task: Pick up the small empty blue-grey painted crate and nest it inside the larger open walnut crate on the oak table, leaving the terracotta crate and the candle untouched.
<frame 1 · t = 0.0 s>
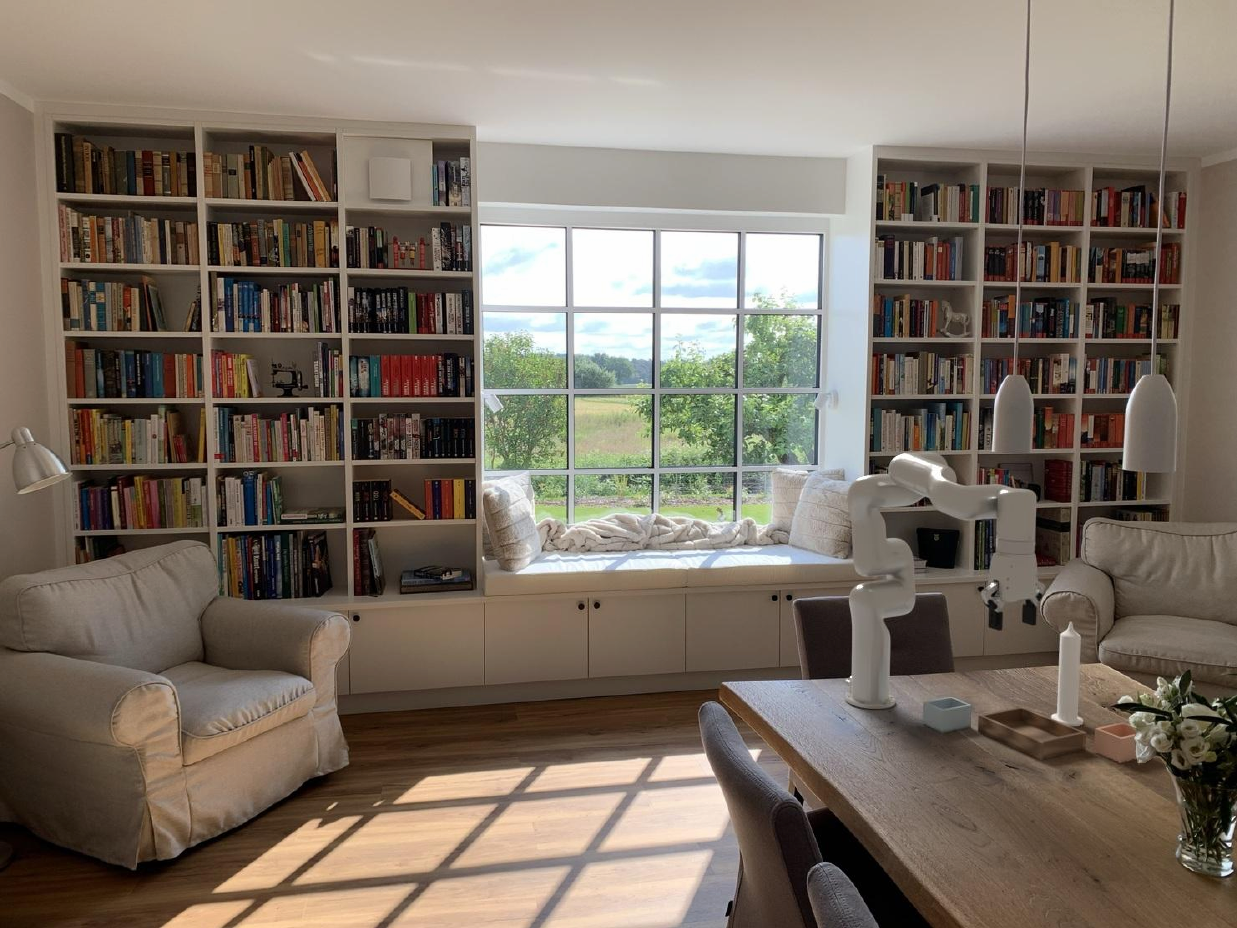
hand: (1012, 626, 190), 31 cm above the table, tool pointing down, fingers open, 9 cm apart
bluegrey crate: (946, 725, 217), on the table
terracotta crate: (1120, 754, 200), on the table
candle: (1066, 722, 220), on the table
walnut crate: (1030, 740, 208), on the table
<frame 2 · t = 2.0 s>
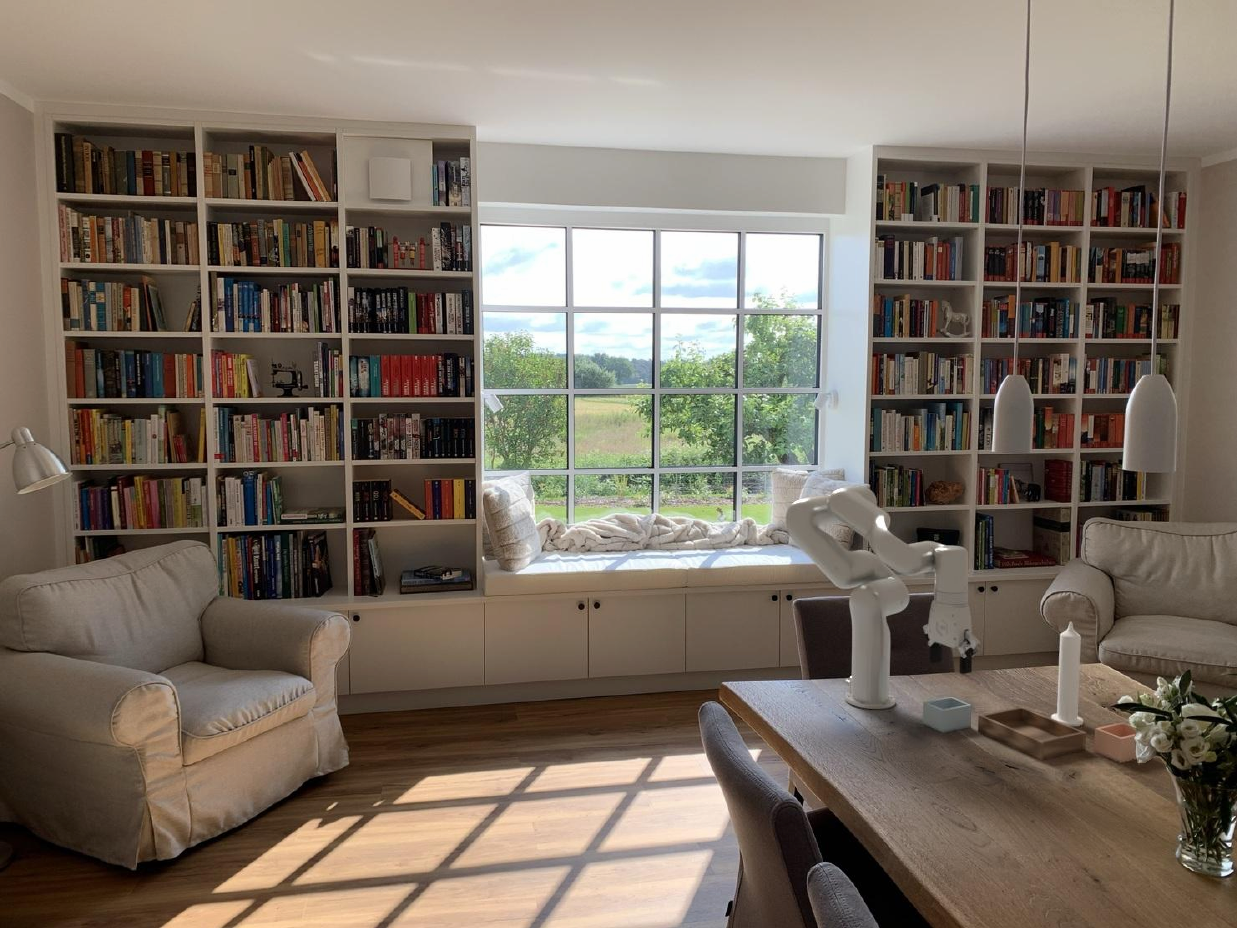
hand: (950, 667, 216), 15 cm above the table, tool pointing down, fingers open, 9 cm apart
nothing on the table moved.
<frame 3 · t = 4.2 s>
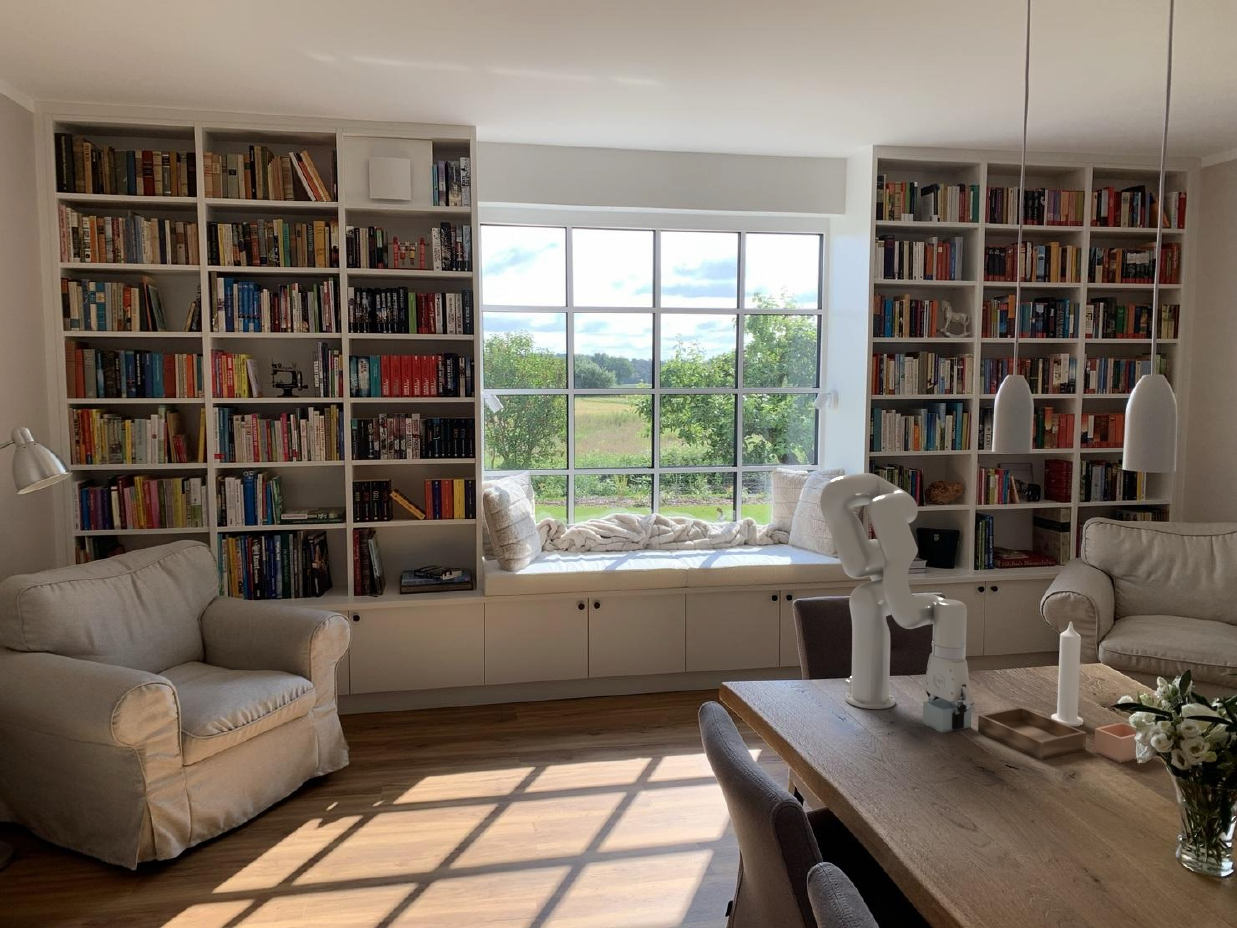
hand: (946, 722, 217), 1 cm above the table, tool pointing down, fingers closed on bluegrey crate, 6 cm apart
bluegrey crate: (946, 725, 217), on the table, touching gripper
everything else where it was.
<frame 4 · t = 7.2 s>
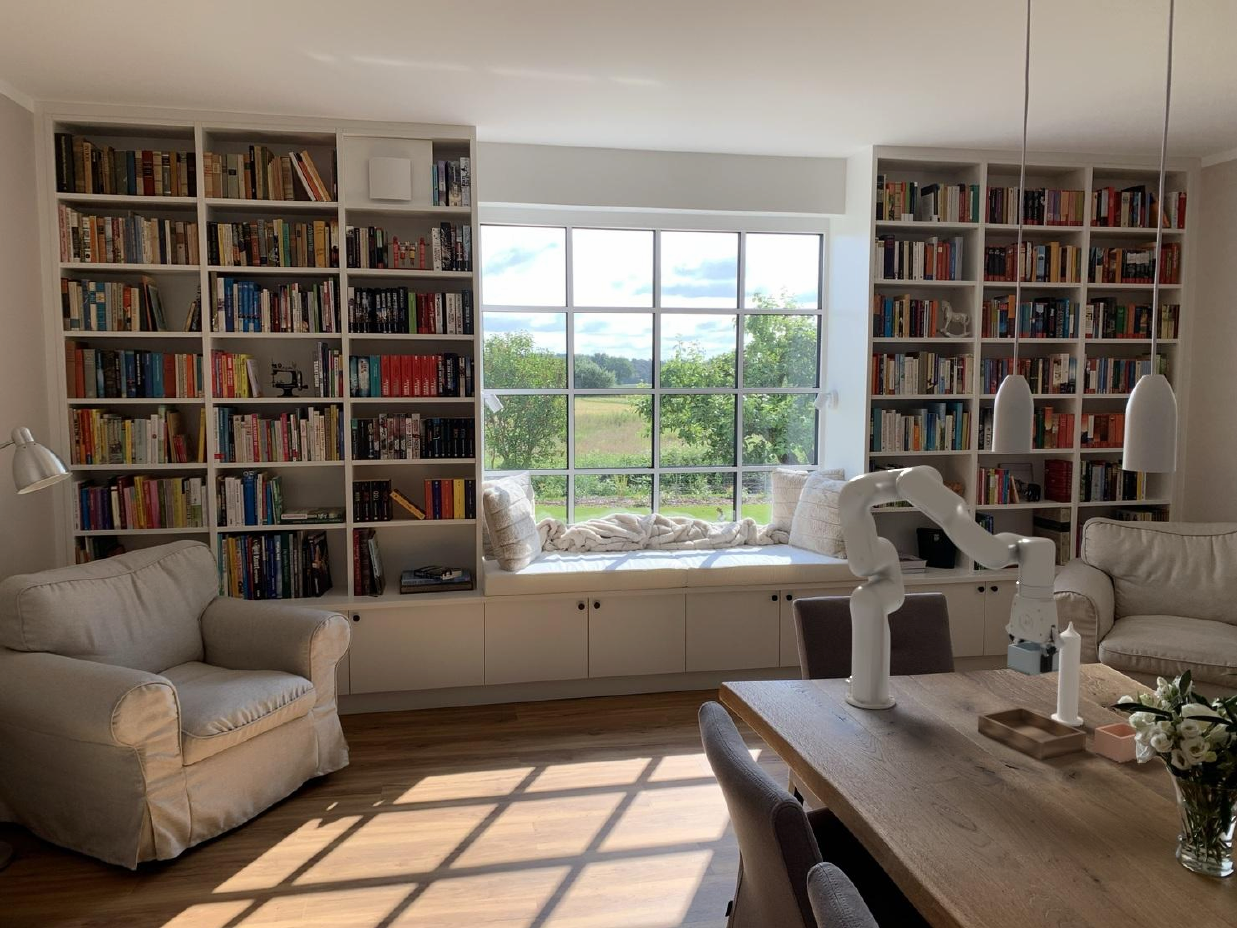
hand: (1033, 666, 206), 18 cm above the table, tool pointing down, fingers closed on bluegrey crate, 6 cm apart
bluegrey crate: (1032, 669, 207), point 17 cm above the table, touching gripper
everything else where it was.
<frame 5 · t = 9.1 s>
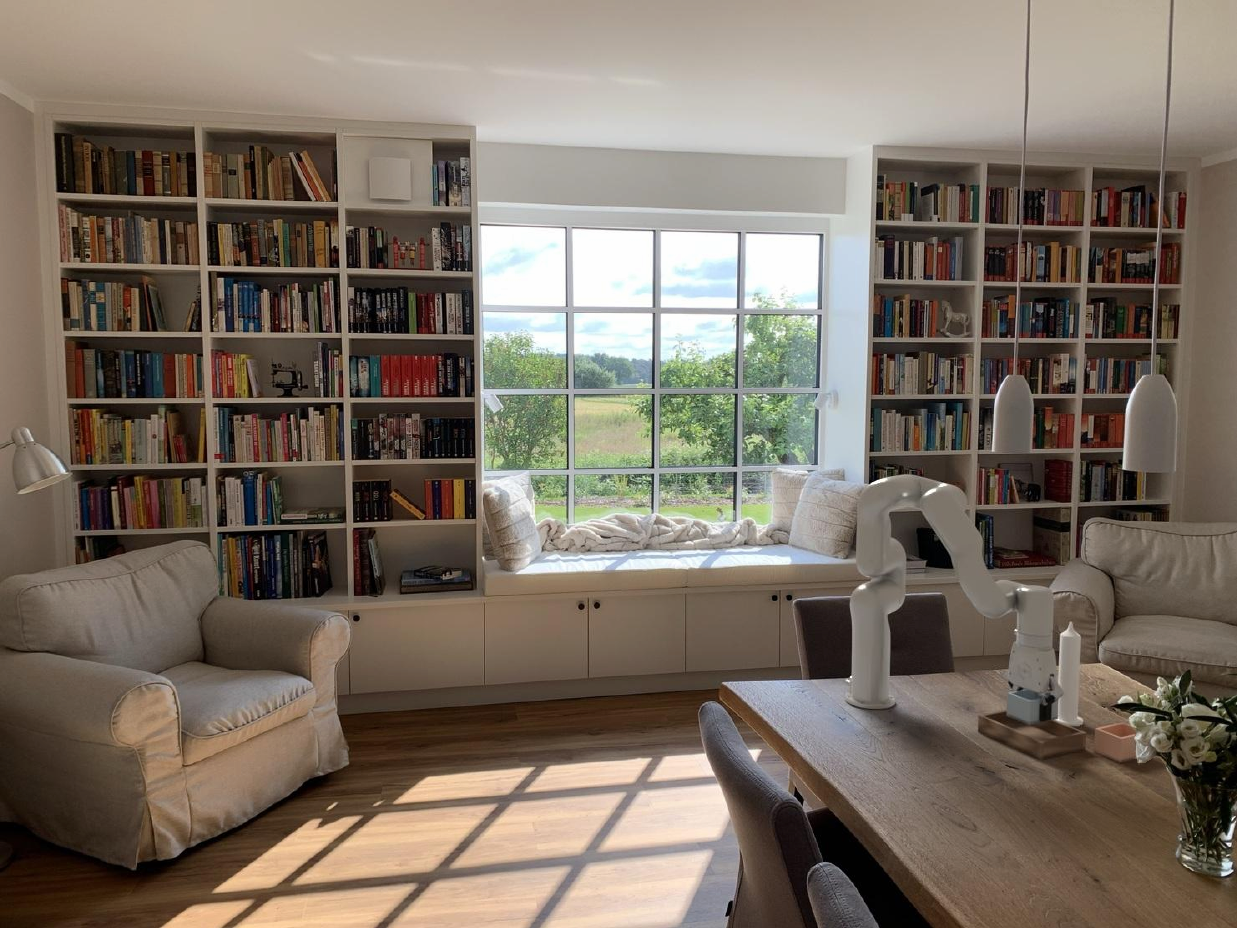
hand: (1032, 714, 207), 6 cm above the table, tool pointing down, fingers closed on bluegrey crate, 6 cm apart
bluegrey crate: (1032, 717, 207), point 6 cm above the table, touching gripper
everything else where it was.
when the fingers open (4 cm above the table, at t = 10.6 s): bluegrey crate drops 2 cm, resting on walnut crate.
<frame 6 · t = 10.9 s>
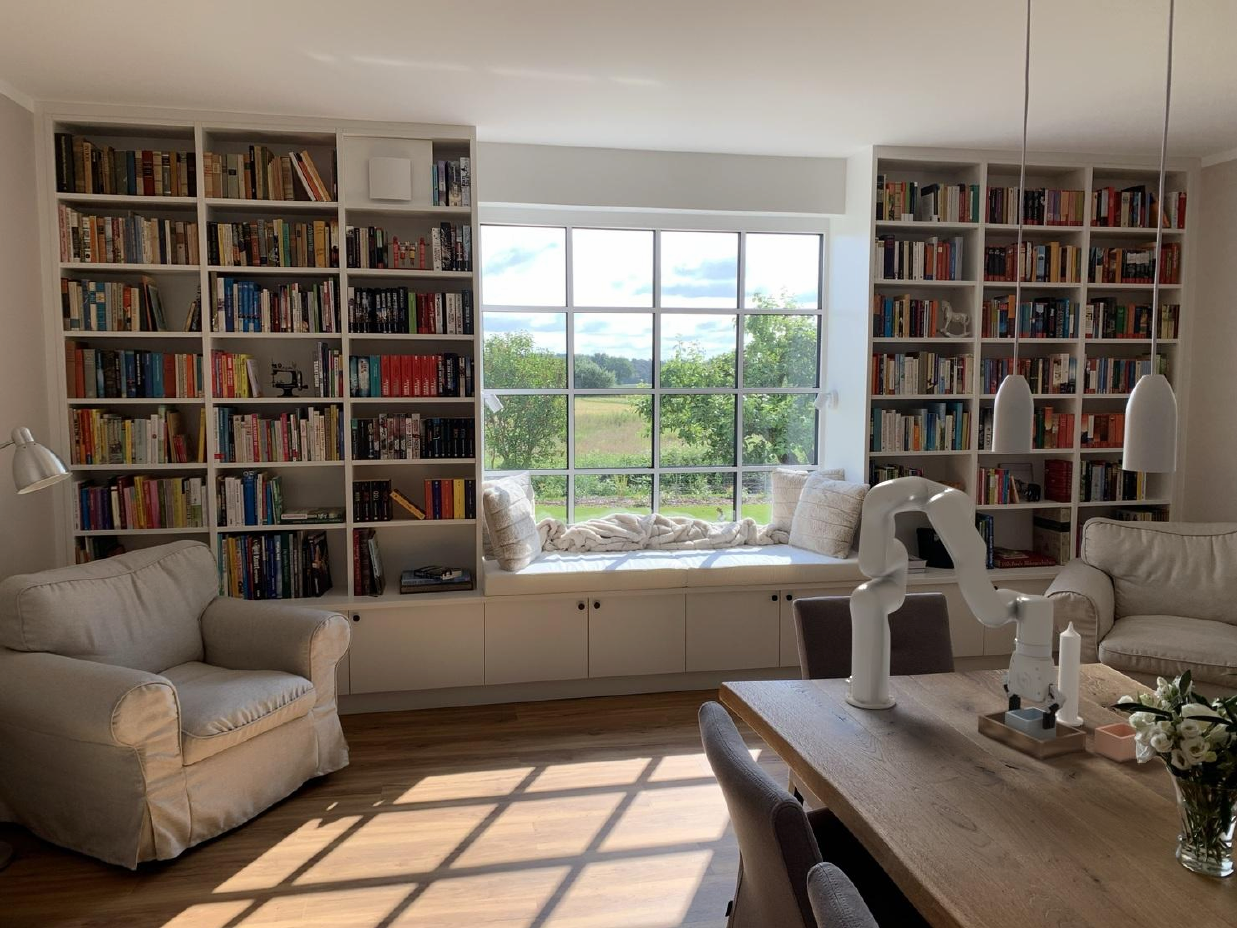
hand: (1031, 721, 208), 5 cm above the table, tool pointing down, fingers open, 9 cm apart
bluegrey crate: (1030, 736, 208), point 1 cm above the table, touching walnut crate
everything else where it was.
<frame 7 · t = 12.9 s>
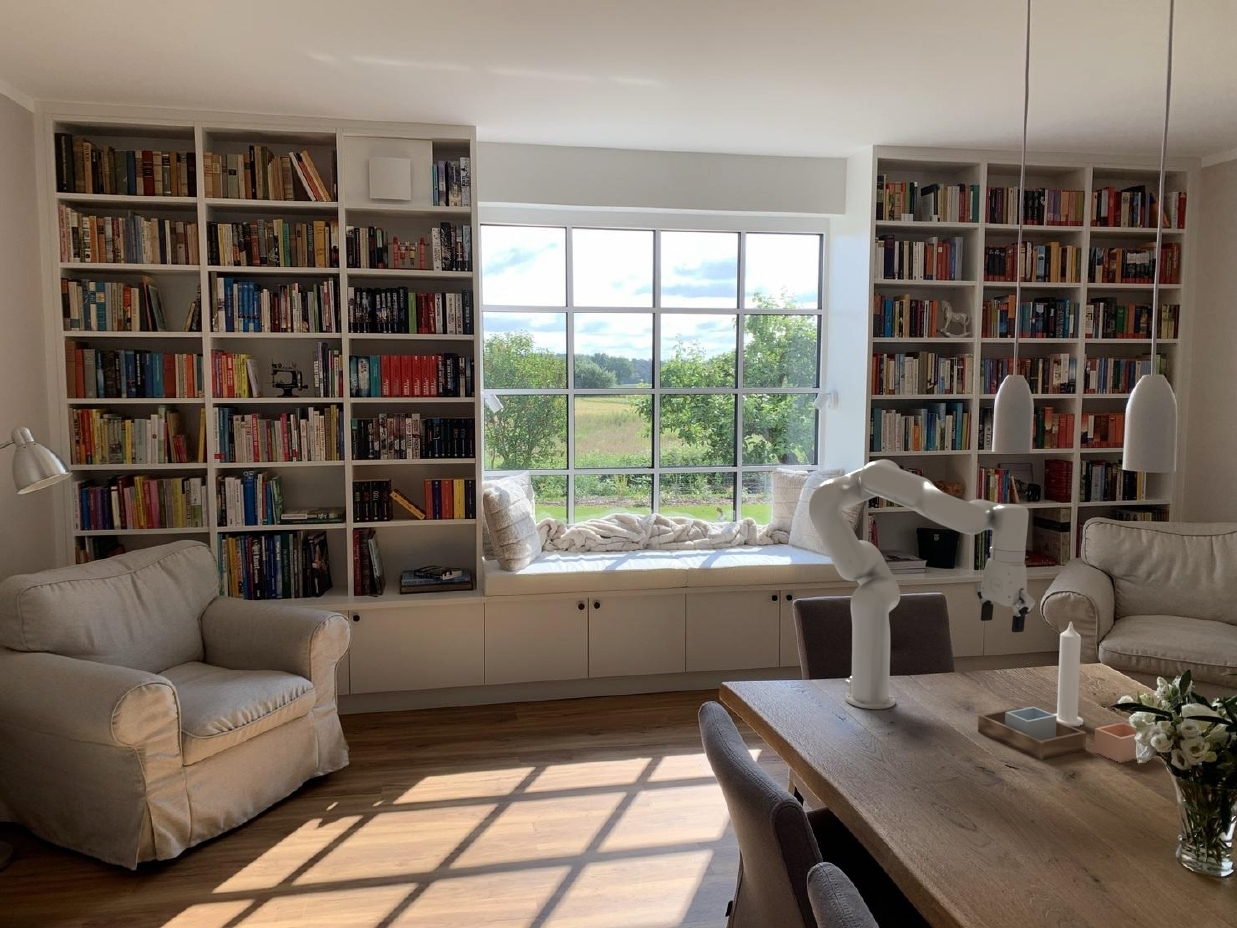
hand: (1001, 625, 215), 25 cm above the table, tool pointing down, fingers open, 9 cm apart
nothing on the table moved.
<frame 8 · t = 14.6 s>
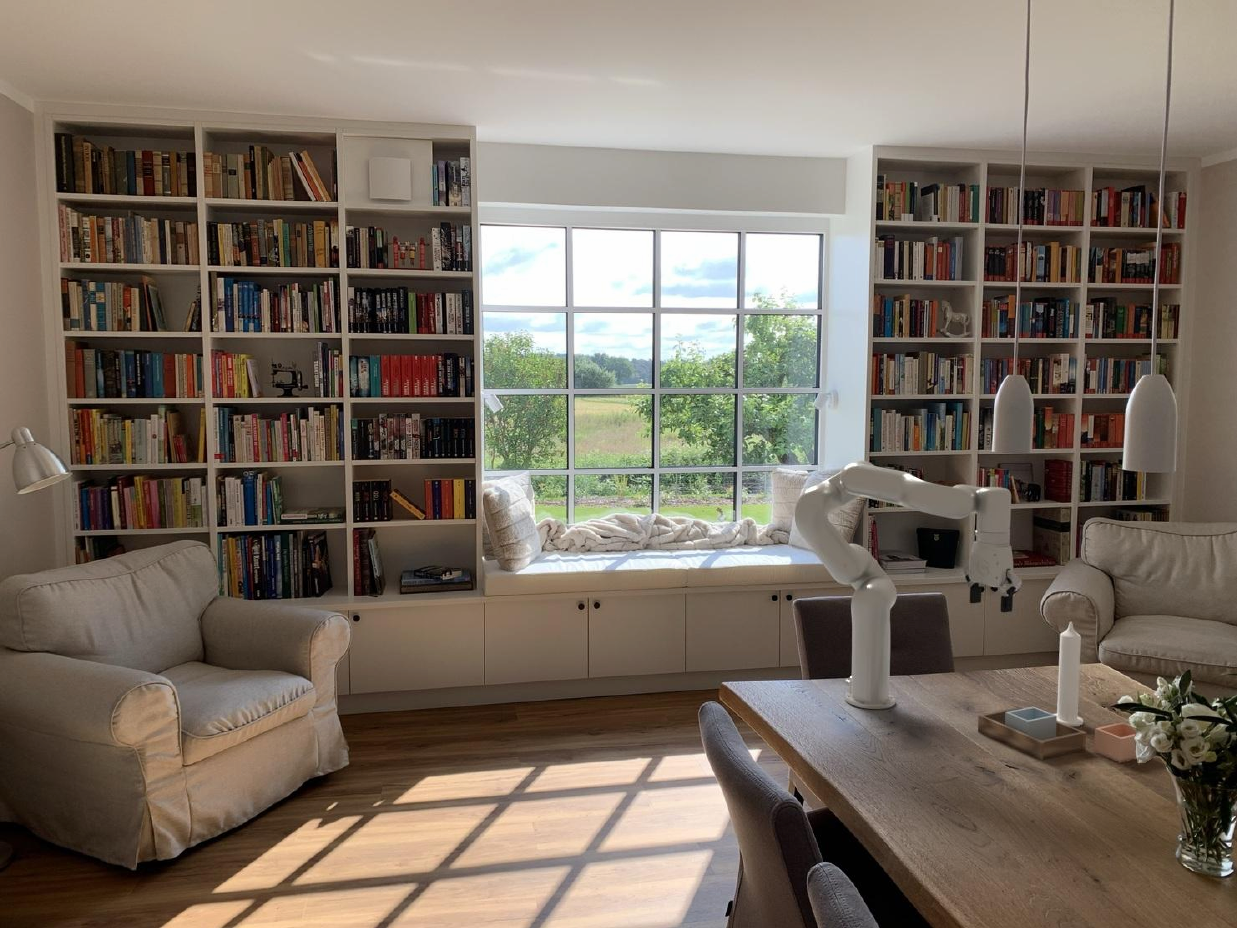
hand: (990, 607, 219), 28 cm above the table, tool pointing down, fingers open, 9 cm apart
nothing on the table moved.
at the end: bluegrey crate inside the target area on the walnut crate (0.1 cm from its centre), point 0.8 cm above the walnut crate's base; bluegrey crate tilted 0°; the gripper is holding nothing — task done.
